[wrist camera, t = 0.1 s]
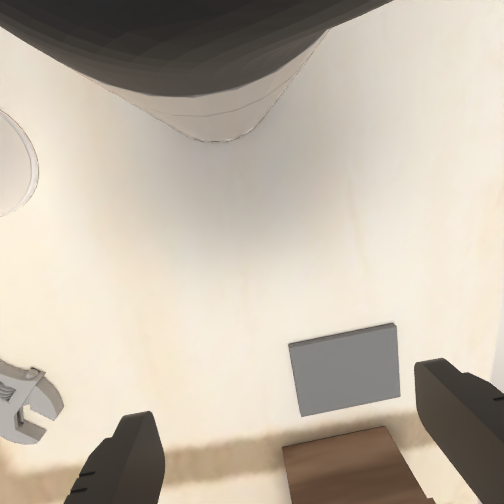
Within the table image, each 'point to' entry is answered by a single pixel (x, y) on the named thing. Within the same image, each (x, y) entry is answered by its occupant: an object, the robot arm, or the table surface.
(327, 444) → the wooden box
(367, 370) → the rubber mat
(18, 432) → the adjustable wrench
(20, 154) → the spray can
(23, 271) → the table surface
